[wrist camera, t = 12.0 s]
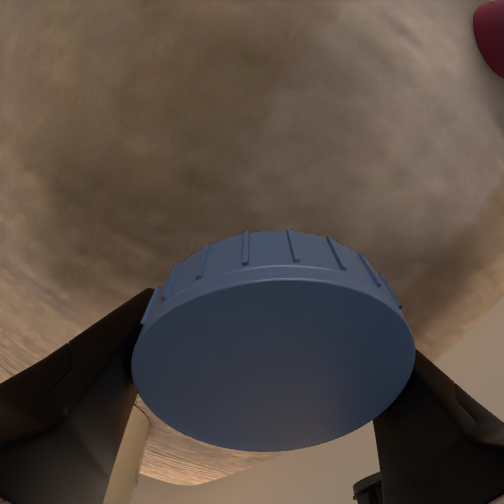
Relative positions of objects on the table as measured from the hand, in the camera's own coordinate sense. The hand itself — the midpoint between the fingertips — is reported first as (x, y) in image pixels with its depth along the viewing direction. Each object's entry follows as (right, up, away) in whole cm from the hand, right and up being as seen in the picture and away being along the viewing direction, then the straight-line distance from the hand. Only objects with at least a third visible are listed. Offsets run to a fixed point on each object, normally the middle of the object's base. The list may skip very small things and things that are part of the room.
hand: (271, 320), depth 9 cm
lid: (0, -1, -2) cm, 2 cm away
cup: (+9, +10, -3) cm, 14 cm away
